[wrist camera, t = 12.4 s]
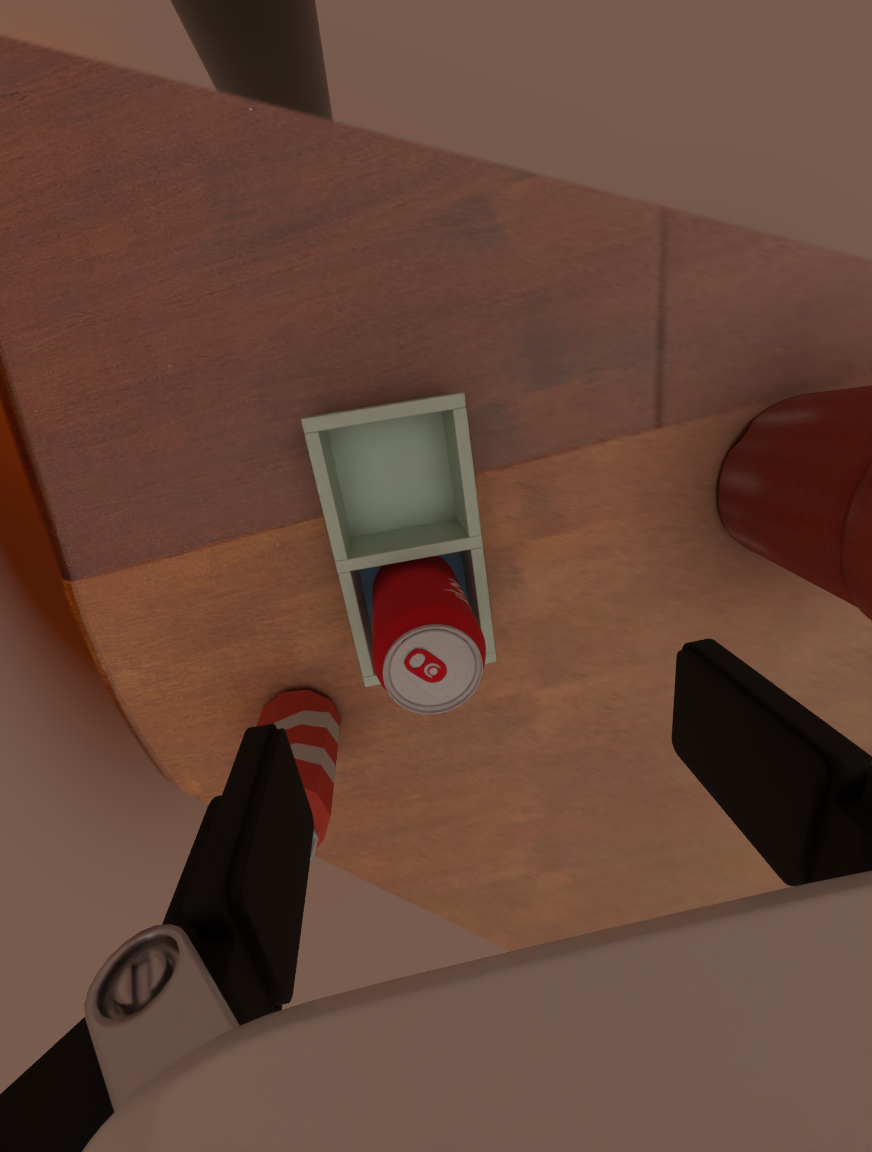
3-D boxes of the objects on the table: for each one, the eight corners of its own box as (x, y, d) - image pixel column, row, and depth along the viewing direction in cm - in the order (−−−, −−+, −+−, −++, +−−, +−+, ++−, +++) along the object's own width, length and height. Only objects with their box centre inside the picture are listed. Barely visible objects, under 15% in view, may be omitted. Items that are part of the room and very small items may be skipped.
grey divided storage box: (312, 415, 31) (300, 419, 26) (450, 393, 32) (464, 392, 27) (366, 647, 38) (364, 687, 33) (480, 625, 38) (496, 661, 33)
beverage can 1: (344, 743, 41) (333, 874, 30) (267, 751, 40) (226, 888, 29) (337, 682, 39) (322, 798, 27) (255, 689, 38) (206, 811, 27)
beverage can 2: (421, 639, 37) (441, 742, 26) (355, 595, 35) (346, 686, 24) (472, 578, 36) (517, 659, 25) (408, 529, 34) (424, 593, 23)
